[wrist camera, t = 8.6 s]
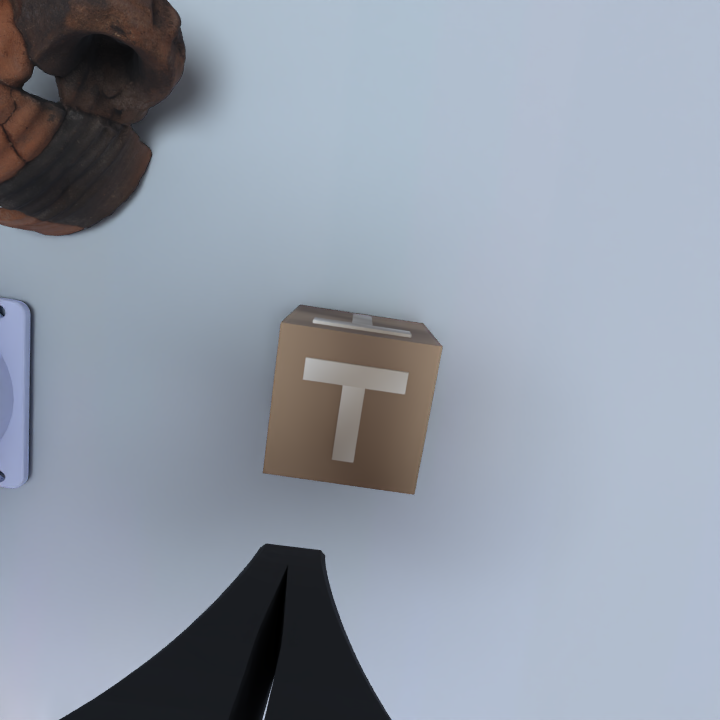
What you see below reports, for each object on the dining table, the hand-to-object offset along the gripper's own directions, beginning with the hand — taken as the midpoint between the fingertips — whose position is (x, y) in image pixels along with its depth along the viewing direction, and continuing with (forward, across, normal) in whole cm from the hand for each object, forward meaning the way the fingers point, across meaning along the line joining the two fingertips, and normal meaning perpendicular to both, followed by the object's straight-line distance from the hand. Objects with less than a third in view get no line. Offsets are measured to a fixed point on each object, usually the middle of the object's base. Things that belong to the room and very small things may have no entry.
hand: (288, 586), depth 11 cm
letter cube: (+10, -1, -2) cm, 11 cm away
